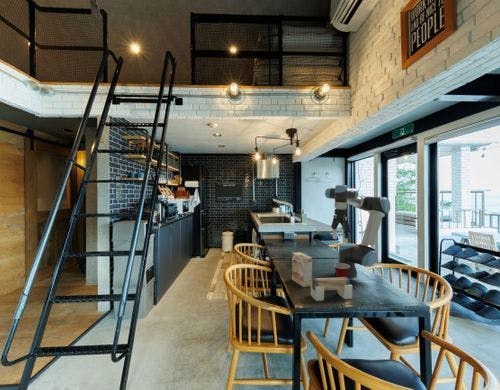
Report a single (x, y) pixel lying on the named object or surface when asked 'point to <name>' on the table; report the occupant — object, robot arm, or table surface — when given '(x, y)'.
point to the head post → (317, 293)
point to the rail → (330, 283)
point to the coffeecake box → (302, 269)
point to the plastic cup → (341, 269)
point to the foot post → (346, 292)
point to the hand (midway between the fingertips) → (339, 241)
